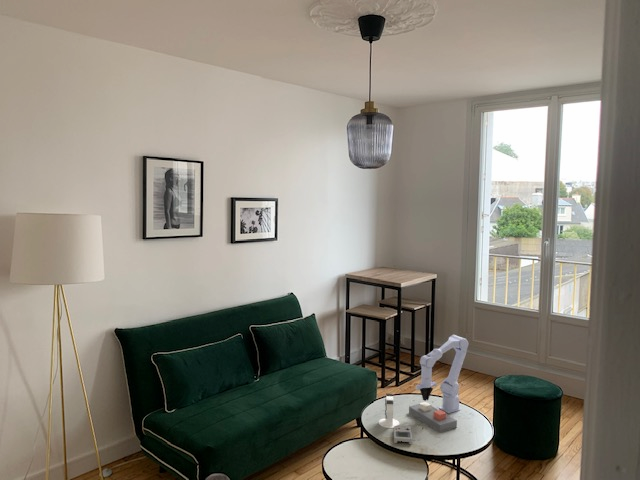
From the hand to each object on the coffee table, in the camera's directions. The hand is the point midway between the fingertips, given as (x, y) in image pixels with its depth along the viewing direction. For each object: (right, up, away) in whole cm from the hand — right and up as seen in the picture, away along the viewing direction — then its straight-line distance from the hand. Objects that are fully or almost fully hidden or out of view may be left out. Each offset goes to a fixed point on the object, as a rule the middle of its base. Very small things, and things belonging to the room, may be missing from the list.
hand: (425, 399), depth 278 cm
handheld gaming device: (-17, -12, -25) cm, 33 cm away
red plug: (+6, -7, -10) cm, 14 cm away
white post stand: (-22, -10, -9) cm, 26 cm away
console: (+3, -10, -4) cm, 11 cm away
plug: (0, -6, +1) cm, 6 cm away
